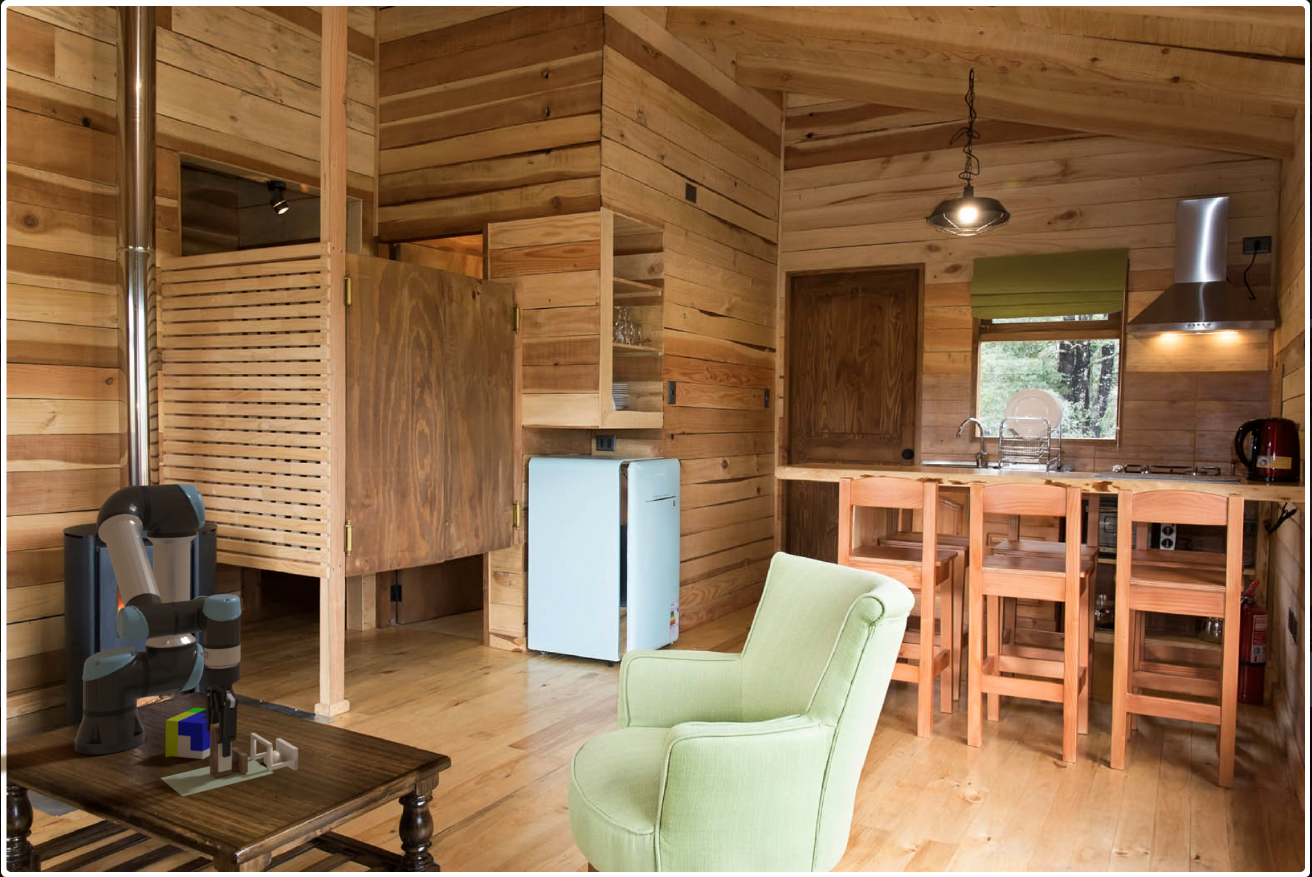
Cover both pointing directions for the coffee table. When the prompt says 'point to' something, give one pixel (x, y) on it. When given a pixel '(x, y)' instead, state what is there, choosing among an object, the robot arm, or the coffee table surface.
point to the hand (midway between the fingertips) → (221, 767)
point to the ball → (274, 758)
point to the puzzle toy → (188, 735)
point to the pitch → (206, 781)
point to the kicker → (237, 755)
